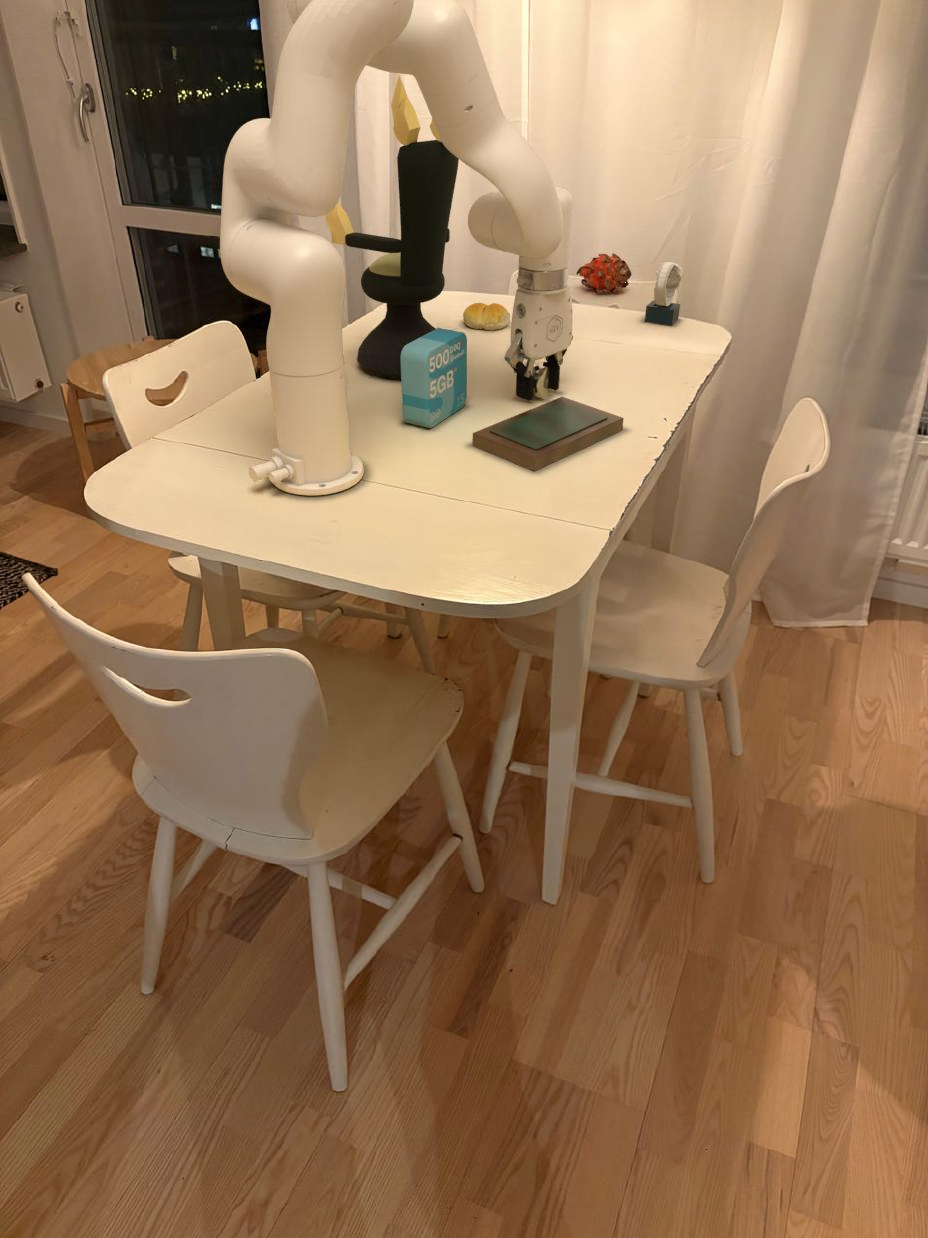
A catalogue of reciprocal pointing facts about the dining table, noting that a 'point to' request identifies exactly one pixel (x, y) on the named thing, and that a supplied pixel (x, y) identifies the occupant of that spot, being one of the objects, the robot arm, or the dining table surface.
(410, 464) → the dining table surface
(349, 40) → the robot arm
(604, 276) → the dragon fruit
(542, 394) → the metal grooved wheel
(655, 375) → the dining table surface
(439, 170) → the candelabra
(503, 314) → the bread roll
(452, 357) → the data package
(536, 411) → the desk pad
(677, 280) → the watch
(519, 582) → the dining table surface
